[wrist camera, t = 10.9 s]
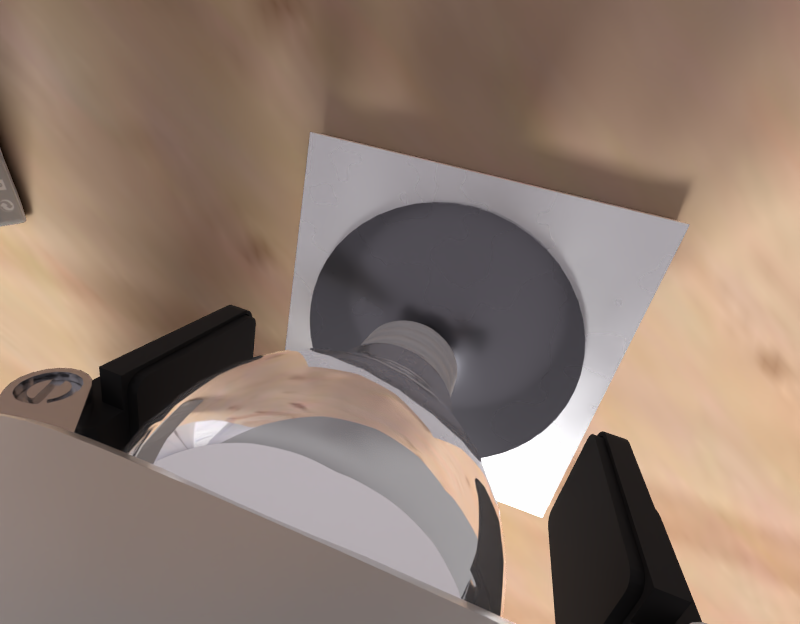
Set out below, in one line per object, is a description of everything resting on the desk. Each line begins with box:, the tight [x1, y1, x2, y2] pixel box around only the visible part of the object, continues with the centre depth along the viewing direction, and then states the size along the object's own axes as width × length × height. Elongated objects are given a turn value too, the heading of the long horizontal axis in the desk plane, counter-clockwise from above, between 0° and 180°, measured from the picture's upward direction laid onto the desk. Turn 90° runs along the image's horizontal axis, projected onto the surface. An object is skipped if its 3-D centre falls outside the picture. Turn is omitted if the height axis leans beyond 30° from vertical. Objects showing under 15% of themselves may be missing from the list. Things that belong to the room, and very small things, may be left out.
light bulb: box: [122, 321, 507, 617], centre depth 9 cm, size 7×7×12 cm
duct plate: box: [285, 132, 689, 518], centre depth 15 cm, size 12×12×1 cm
